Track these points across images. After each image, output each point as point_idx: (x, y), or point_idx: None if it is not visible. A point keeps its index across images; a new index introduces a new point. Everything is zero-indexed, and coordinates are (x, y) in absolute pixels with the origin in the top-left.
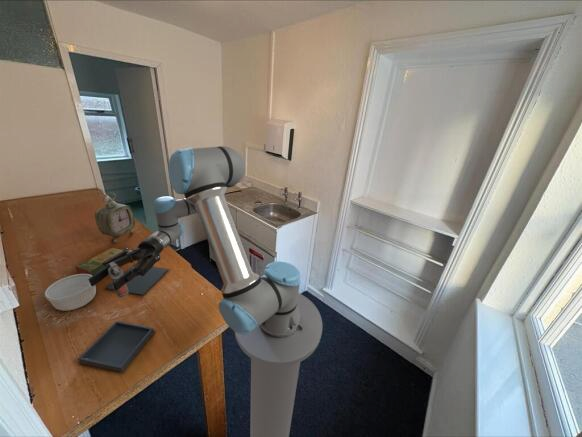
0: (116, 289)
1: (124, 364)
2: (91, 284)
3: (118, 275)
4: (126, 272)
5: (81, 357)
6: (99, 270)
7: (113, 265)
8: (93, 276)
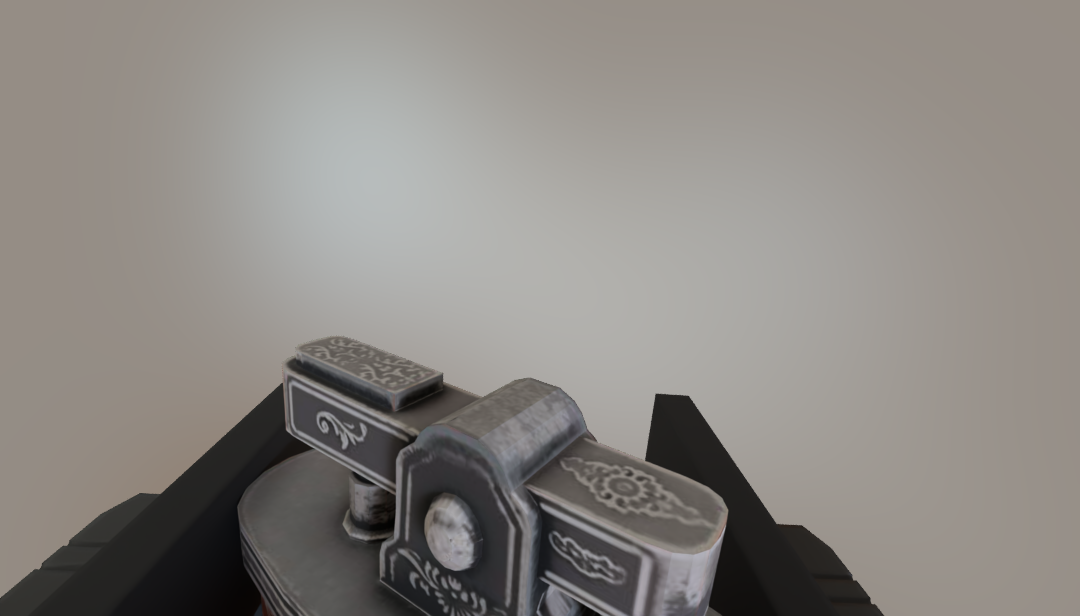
0: None
1: None
2: None
3: (340, 501)
4: (161, 538)
5: None
6: (859, 590)
7: (489, 401)
8: (686, 422)
